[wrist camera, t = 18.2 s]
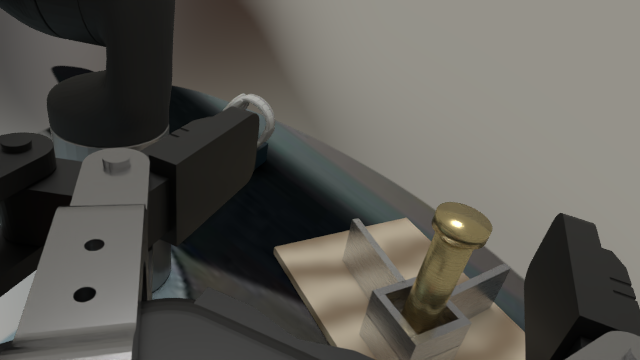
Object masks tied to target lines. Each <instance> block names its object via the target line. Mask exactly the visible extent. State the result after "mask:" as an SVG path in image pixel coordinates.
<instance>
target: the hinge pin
mask: <svg viewBox="0 0 640 360" xmlns="http://www.w3.org/2000/svg"><path fill="white" fill-rule="evenodd" d="M432 227H433V229H434V231H435V234H434V237H433V239H432V242H431V244H430V246H429V249H428V251H427V253H426V256H425V258H424V260H423V263H422V265H421V267H420V270H419V272H418V275H417V277H416V279H415V282H414V284H413V286H412V289H411V291H410V293H409V296H408V298H407V300H406V303H405V305H404V308H403V310H402V312H401V315H402V316H403V318H404V319H405V320H406V321H407V323H408V324H409V325H410V326H411V328H412V329H413V330H414V331H415V332H416V334H417V335H419V334H422V333H424V332H427V331H429V330H432V329H434V328H435V327H436V325H437V323H438V321H439V319H440V316H441V314H442V312H443V310H444V308H445V306H446V304H447V302H448V300H449V298H450V296H451V294H452V292H453V290H454V288H455V286H456V284H457V282H458V280H459V278H460V276H461V274H462V272H463V270H464V268H465V266H466V264H467V262H468V260H469V258H470V256H471V254H472V252H473V250H474V249H479V248H482V247H483V246H484V245H485V244H486V242H487V240H488V238H489V236H490V234H491V232H492V225H491V223H490V221H489V220H488V219H487V218H486V217H485V216H484V215H483V214H482V213H481V212H479V211H477V210H476V209H474V208H472V207H469V206H467V205H464V204H460V203H455V202H446V203H442V204H440V205H439V206H438V207H437V210H436V212H435V215H434V217H433V219H432Z"/></svg>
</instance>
